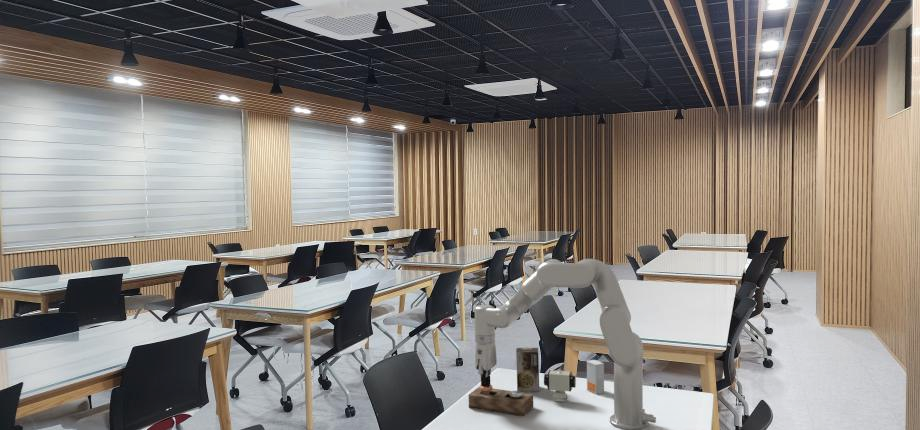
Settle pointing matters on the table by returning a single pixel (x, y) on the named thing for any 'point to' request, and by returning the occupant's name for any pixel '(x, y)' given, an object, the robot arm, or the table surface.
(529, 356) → the coffee box
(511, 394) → the steel plug
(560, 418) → the table surface
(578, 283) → the robot arm
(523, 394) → the plug box
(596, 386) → the skincare box
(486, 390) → the terracotta plug
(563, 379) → the pneumatic valve
